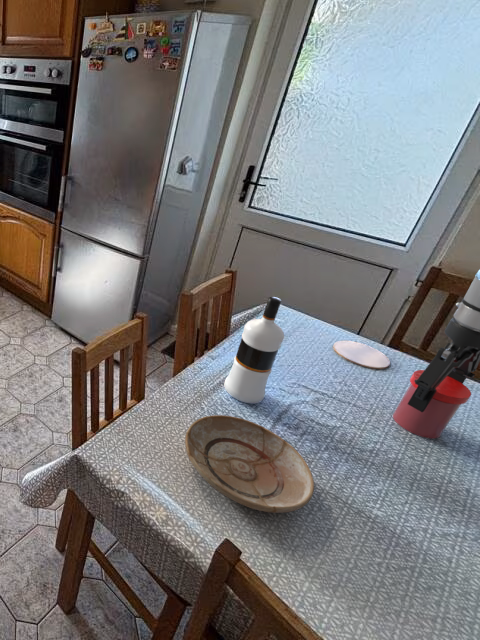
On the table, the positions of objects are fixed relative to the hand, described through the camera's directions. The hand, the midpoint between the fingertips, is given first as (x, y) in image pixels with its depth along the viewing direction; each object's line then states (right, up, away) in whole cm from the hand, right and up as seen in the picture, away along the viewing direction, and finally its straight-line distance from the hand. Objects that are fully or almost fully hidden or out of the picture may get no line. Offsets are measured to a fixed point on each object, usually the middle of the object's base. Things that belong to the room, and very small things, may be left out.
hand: (430, 401), depth 98 cm
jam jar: (0, -7, +3) cm, 8 cm away
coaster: (+9, +5, +27) cm, 29 cm away
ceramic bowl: (-50, -13, -7) cm, 53 cm away
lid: (0, +5, -2) cm, 5 cm away
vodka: (-36, -3, +14) cm, 38 cm away
